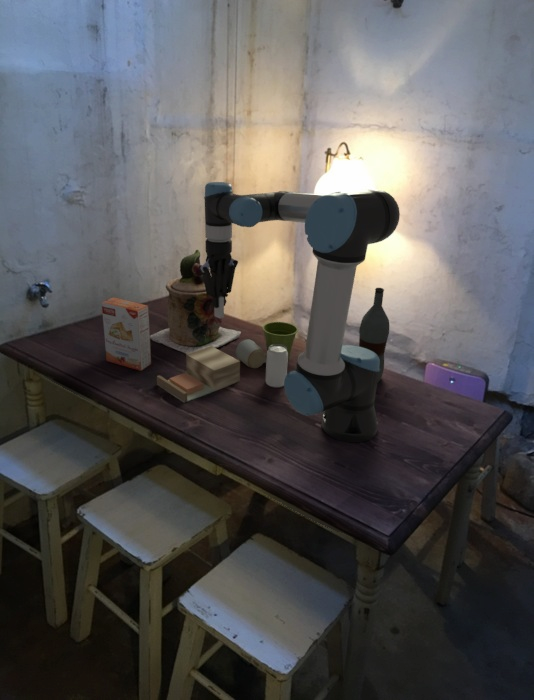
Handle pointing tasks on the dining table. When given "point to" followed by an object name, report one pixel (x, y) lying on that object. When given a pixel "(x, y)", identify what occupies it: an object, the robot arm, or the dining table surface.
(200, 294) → the cookie jar
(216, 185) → the robot arm
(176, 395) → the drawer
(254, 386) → the dining table surface
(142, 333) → the cracker box
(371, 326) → the bottle
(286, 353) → the can
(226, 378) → the beige rectangular slab
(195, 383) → the orange rectangular slab
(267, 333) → the plant pot
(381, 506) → the dining table surface
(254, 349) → the ceramic mug
